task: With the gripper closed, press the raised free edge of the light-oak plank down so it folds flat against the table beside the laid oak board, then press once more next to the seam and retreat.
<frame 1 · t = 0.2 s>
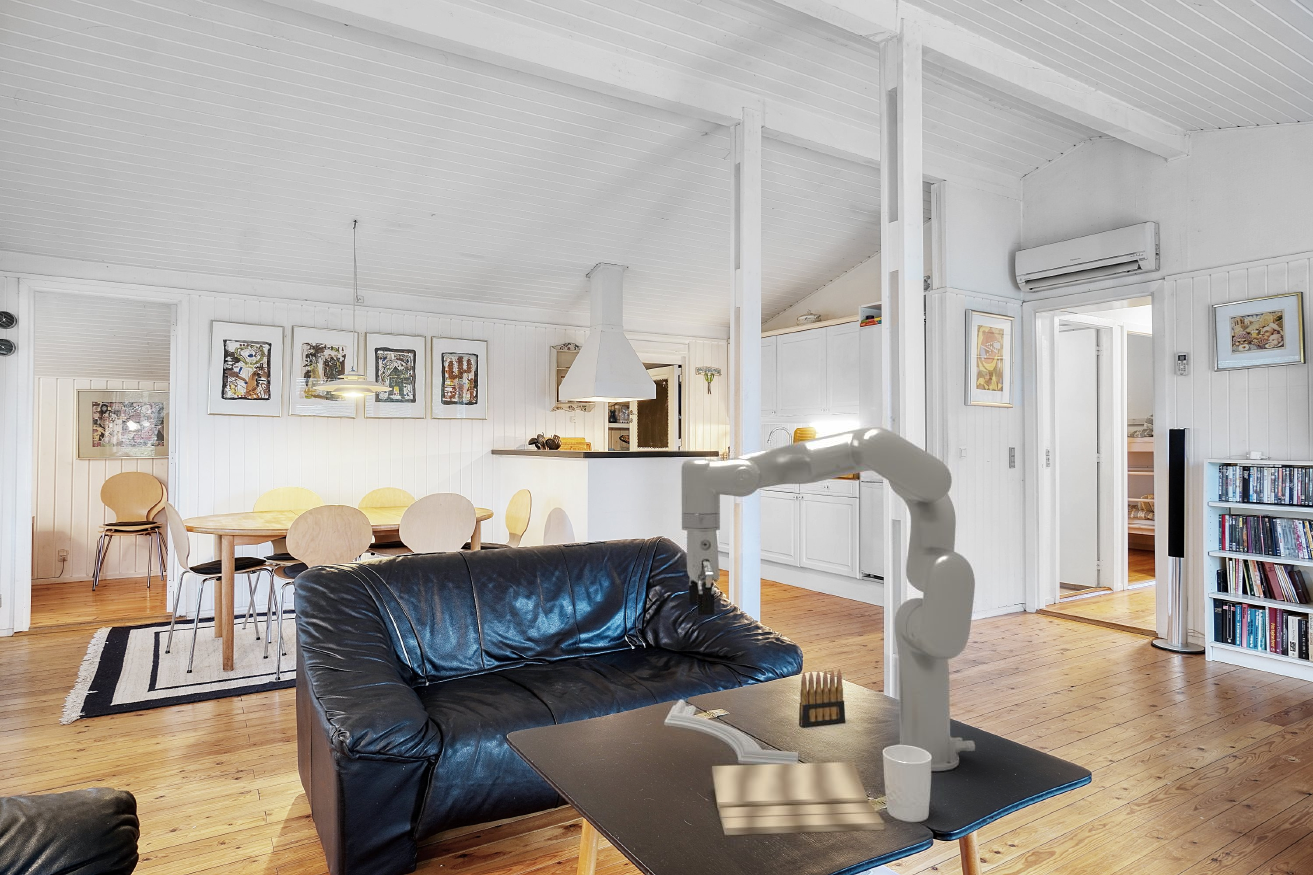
hand: (701, 609, 151), 31 cm above the table, tool pointing down, fingers open, 9 cm apart
plank: (788, 785, 136), point 2 cm above the table, hinge at 22.0°
ammunition clip: (822, 725, 173), on the table
molding: (729, 738, 167), on the table
white cup: (907, 814, 130), on the table
laid board: (799, 822, 127), on the table
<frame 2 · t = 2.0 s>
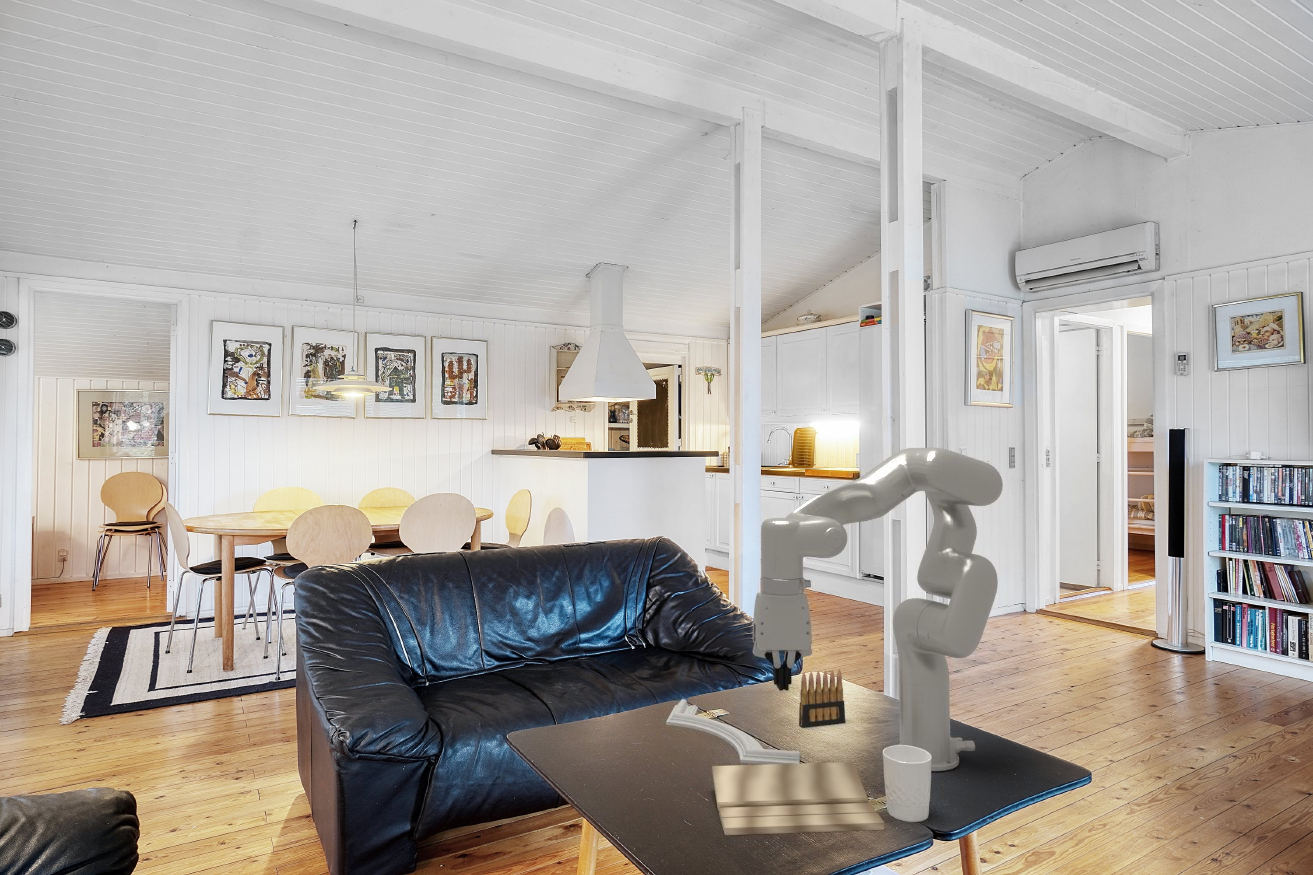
hand: (782, 688, 139), 19 cm above the table, tool pointing down, fingers closed
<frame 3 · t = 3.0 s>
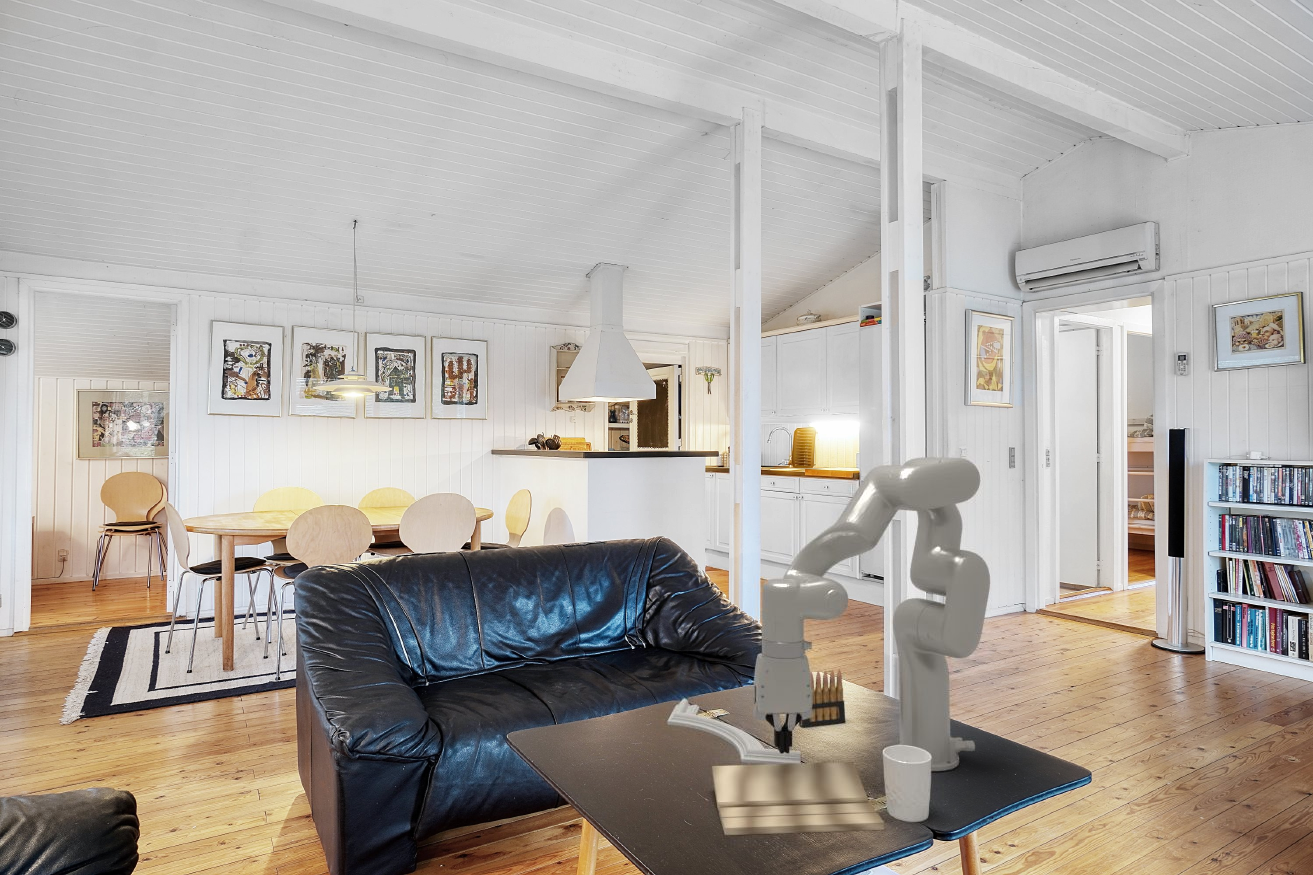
hand: (783, 750, 139), 7 cm above the table, tool pointing down, fingers closed
nothing on the table moved.
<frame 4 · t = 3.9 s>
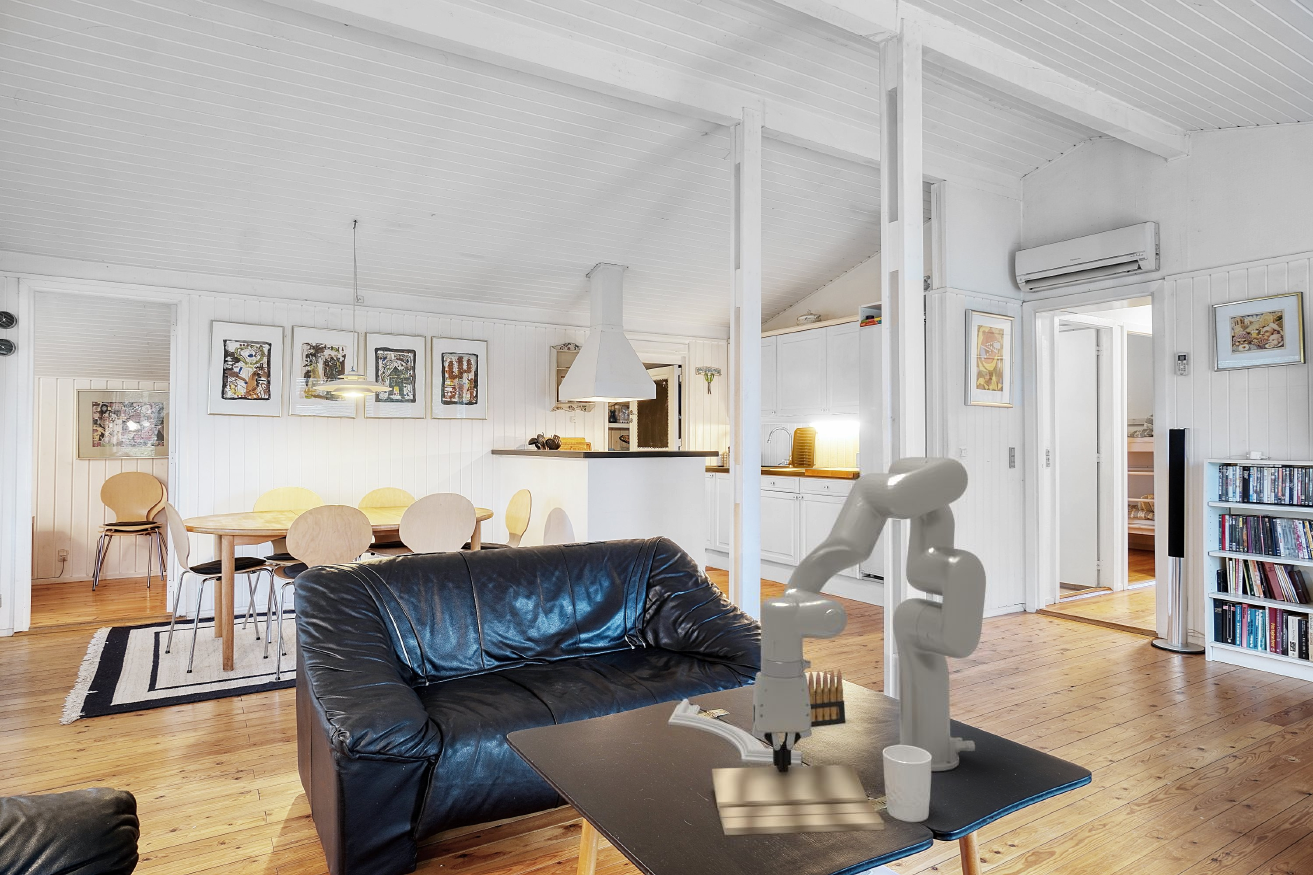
hand: (782, 768, 139), 4 cm above the table, tool pointing down, fingers closed
plank: (787, 786, 136), point 2 cm above the table, hinge at 17.6°, touching gripper
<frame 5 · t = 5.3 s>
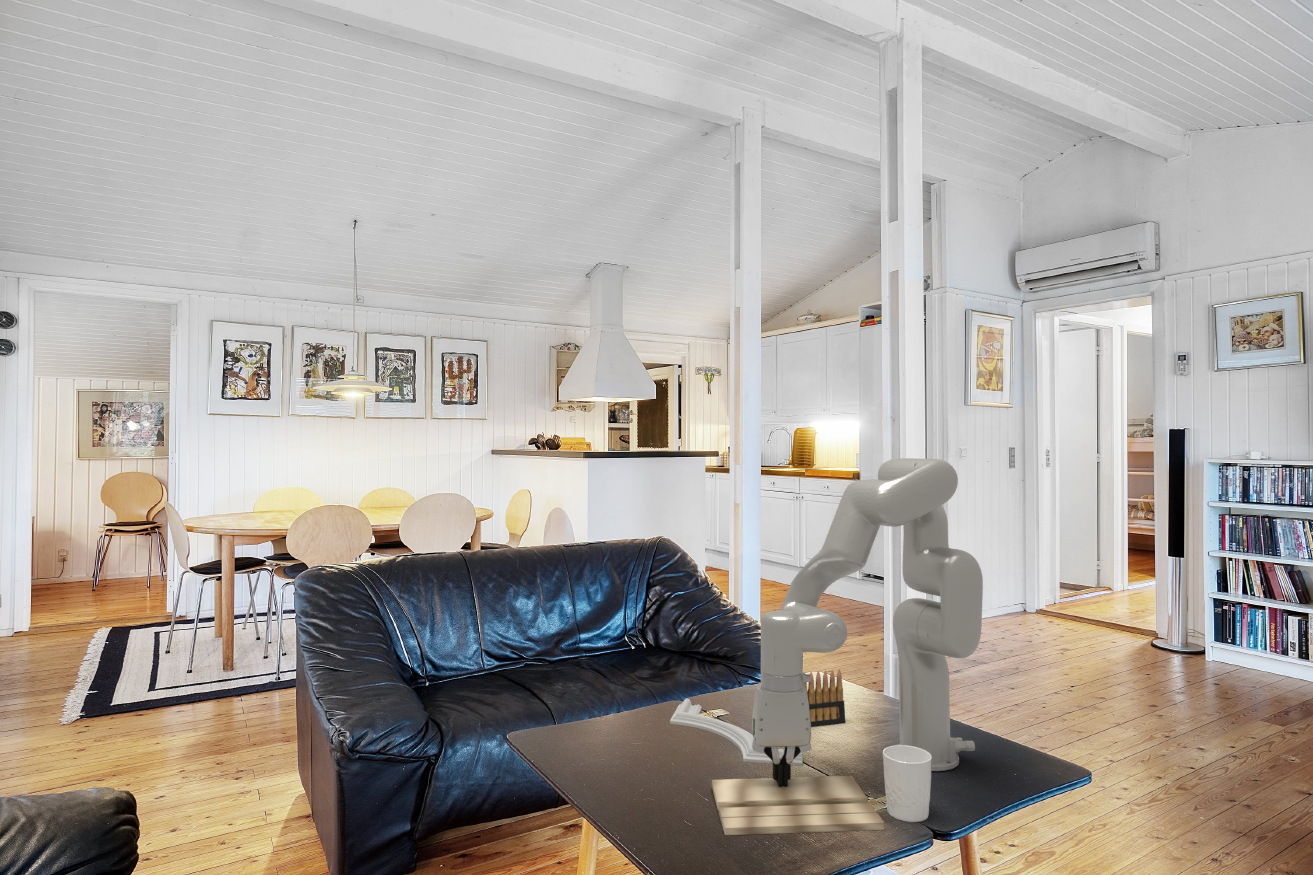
hand: (781, 783, 139), 2 cm above the table, tool pointing down, fingers closed
plank: (787, 792, 136), point 1 cm above the table, hinge at 2.4°, touching gripper
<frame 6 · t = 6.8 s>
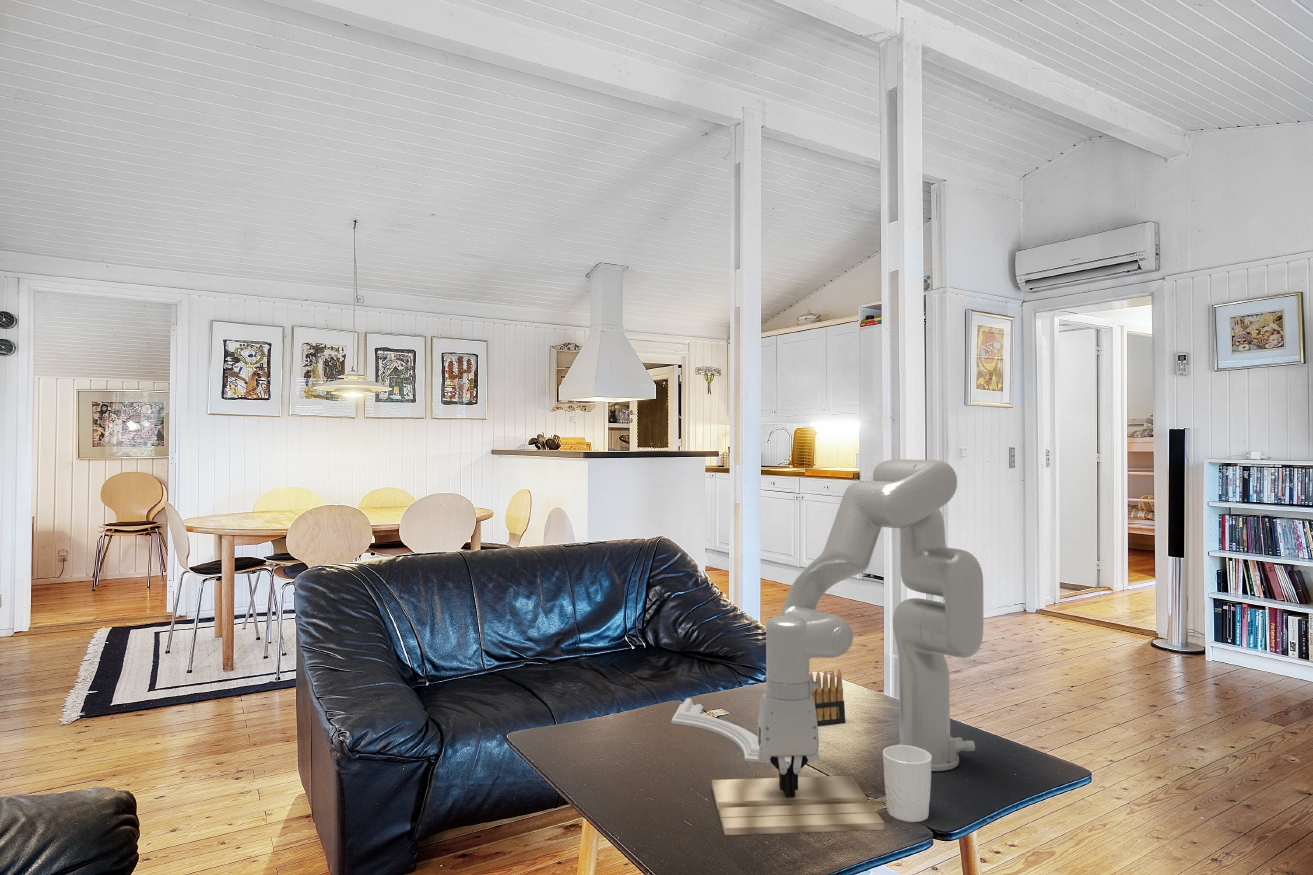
hand: (788, 793, 135), 1 cm above the table, tool pointing down, fingers closed
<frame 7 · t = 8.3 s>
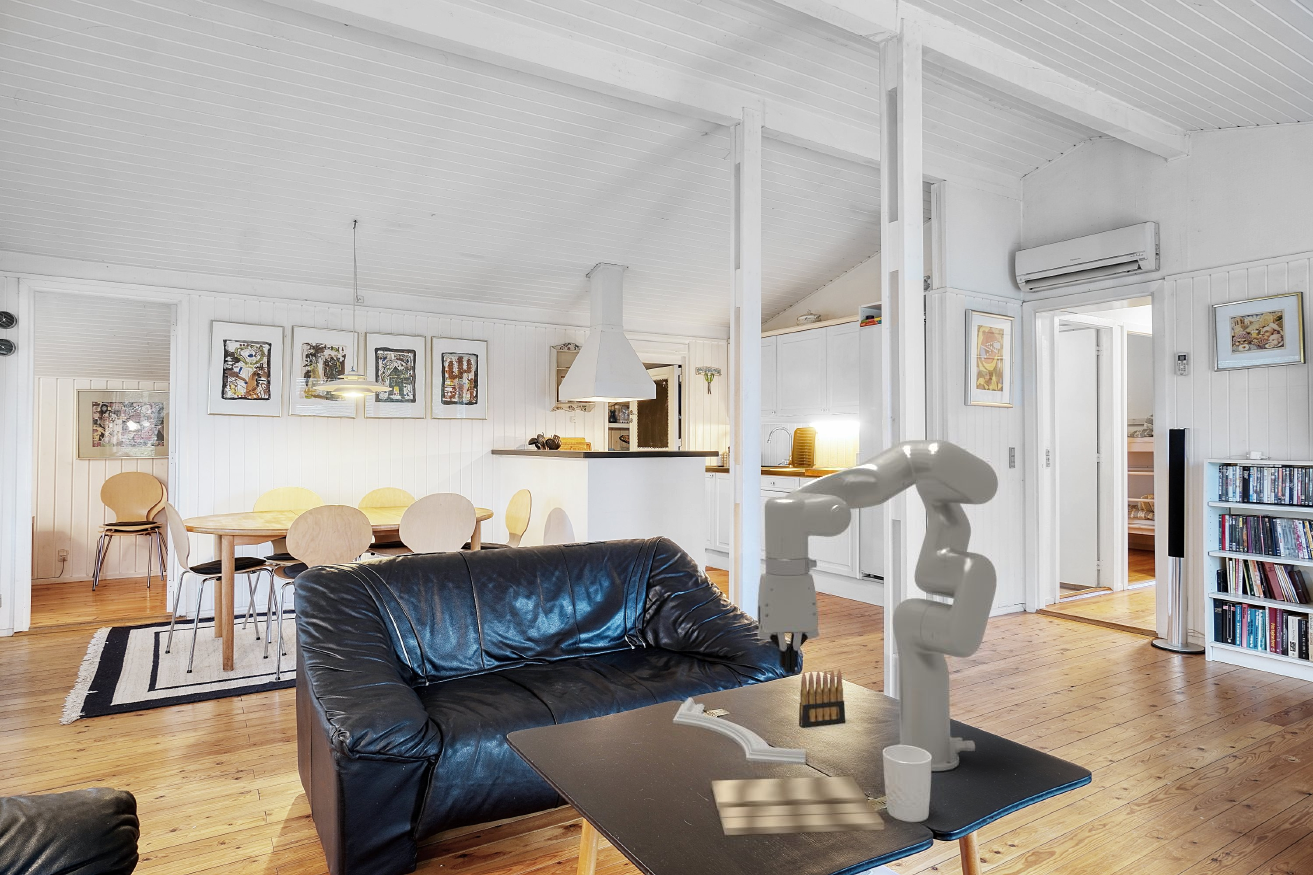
hand: (788, 671, 135), 23 cm above the table, tool pointing down, fingers closed
plank: (787, 792, 136), point 1 cm above the table, hinge at 1.3°
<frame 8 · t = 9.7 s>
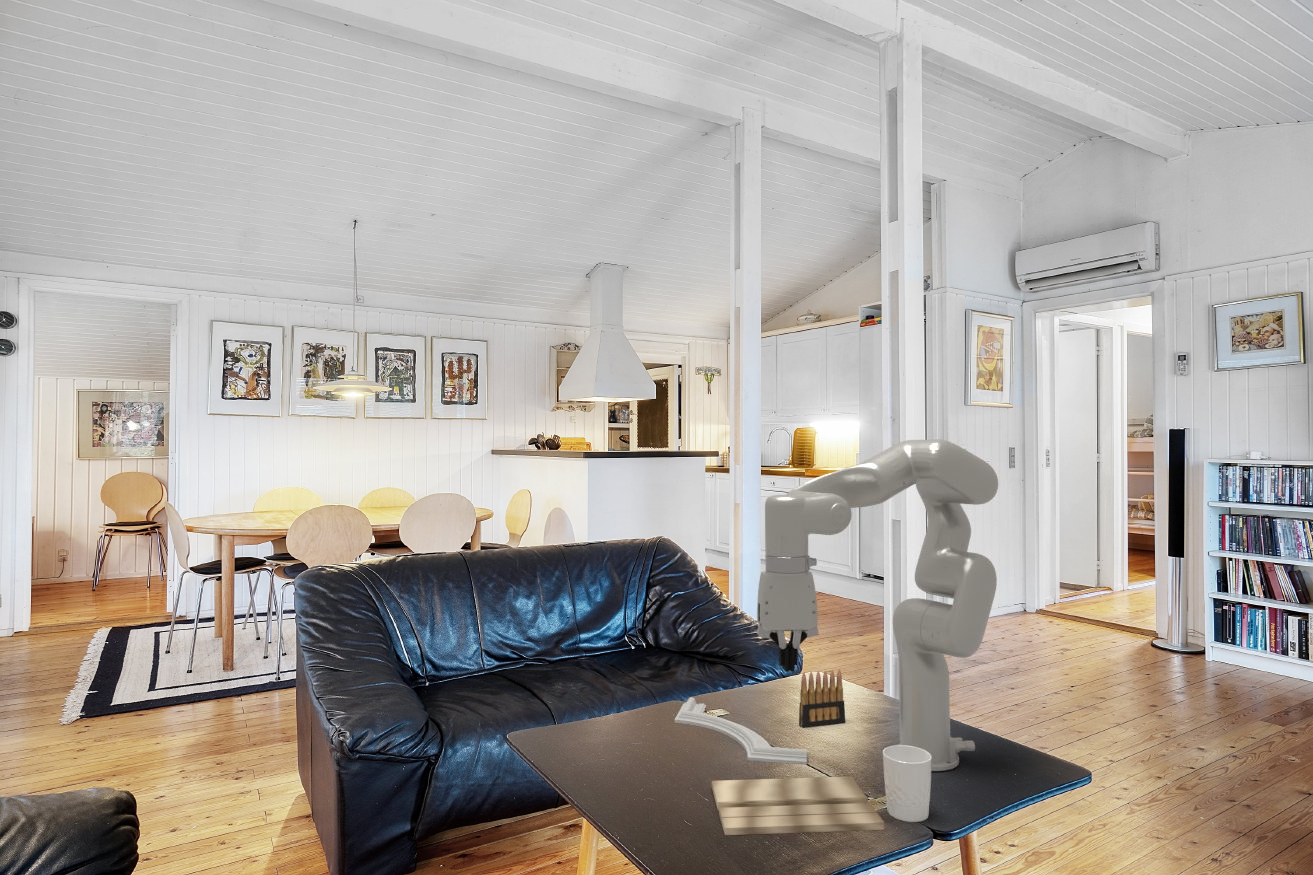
hand: (788, 669, 135), 23 cm above the table, tool pointing down, fingers closed
at the end: plank at +1° (first picture: +22°); the gripper is holding nothing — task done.
